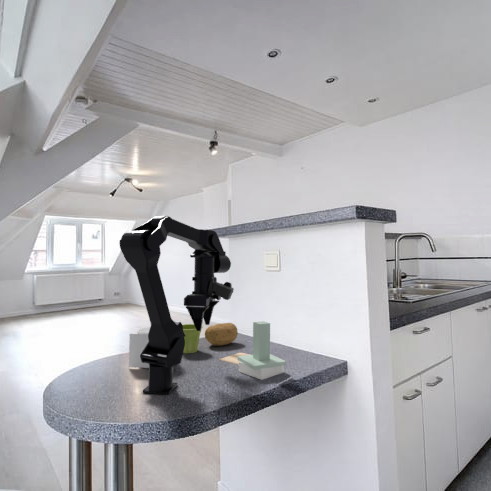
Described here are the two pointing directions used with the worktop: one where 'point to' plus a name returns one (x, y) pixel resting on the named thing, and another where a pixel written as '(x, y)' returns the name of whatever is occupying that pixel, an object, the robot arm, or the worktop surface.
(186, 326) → the plant pot
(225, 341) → the potato
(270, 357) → the mint green stamp
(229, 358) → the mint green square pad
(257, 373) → the dish
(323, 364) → the worktop surface
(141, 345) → the toilet tissue
